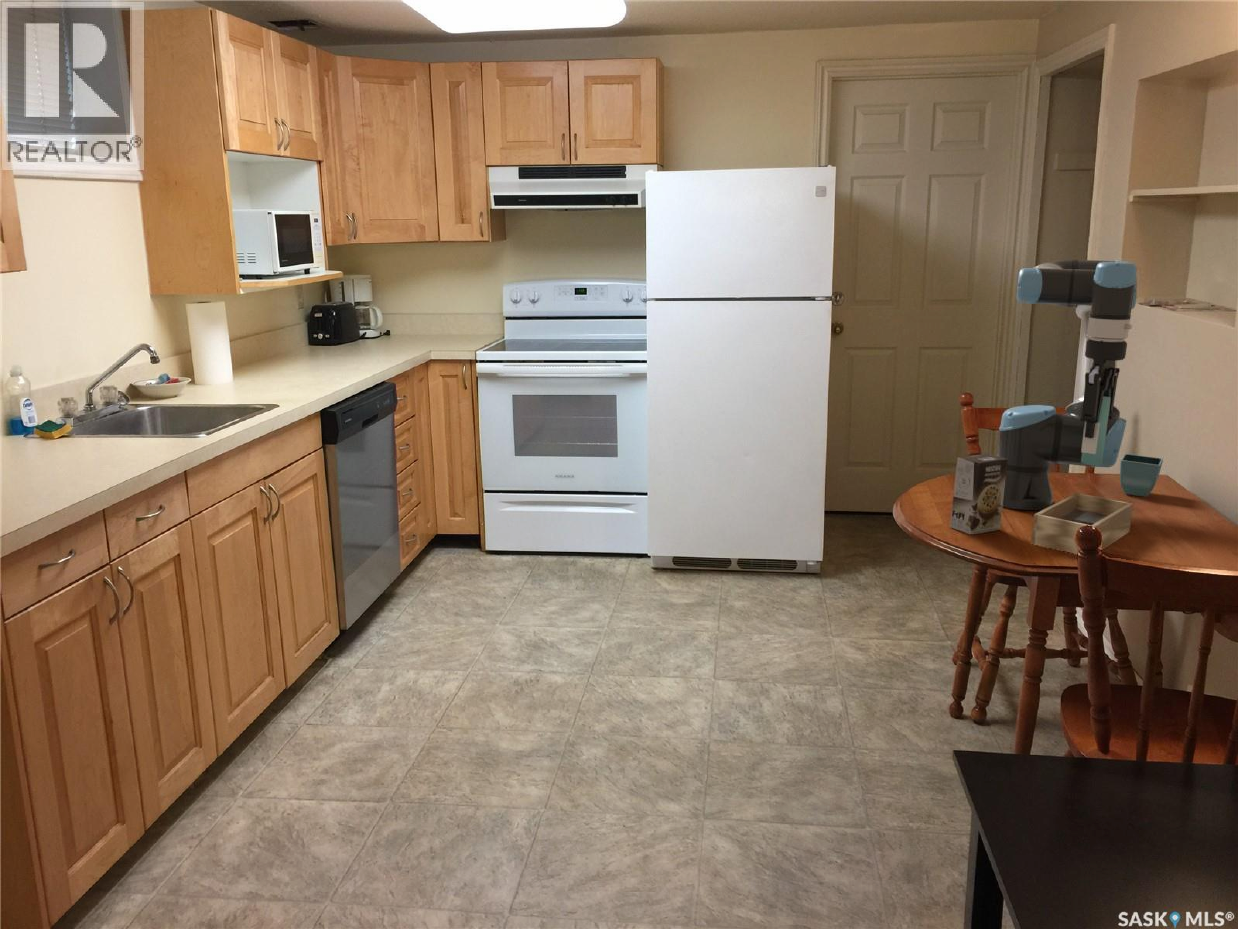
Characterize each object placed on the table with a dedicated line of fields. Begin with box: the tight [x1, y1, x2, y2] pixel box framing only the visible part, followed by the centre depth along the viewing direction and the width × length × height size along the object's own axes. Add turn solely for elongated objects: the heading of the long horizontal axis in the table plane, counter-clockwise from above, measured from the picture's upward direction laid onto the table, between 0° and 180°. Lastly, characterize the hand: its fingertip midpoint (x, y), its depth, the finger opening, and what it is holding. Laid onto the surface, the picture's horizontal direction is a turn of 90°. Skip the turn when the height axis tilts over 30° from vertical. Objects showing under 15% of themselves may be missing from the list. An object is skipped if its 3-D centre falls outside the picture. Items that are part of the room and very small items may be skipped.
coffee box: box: [949, 453, 1008, 535], centre depth 215 cm, size 9×6×16 cm
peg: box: [1081, 396, 1111, 465], centre depth 206 cm, size 4×4×14 cm
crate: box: [1030, 492, 1134, 556], centre depth 211 cm, size 12×24×6 cm, turn 136°
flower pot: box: [1119, 453, 1164, 498], centre depth 246 cm, size 9×9×9 cm
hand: (1092, 450), depth 207 cm, fingers closed on peg, 4 cm apart
